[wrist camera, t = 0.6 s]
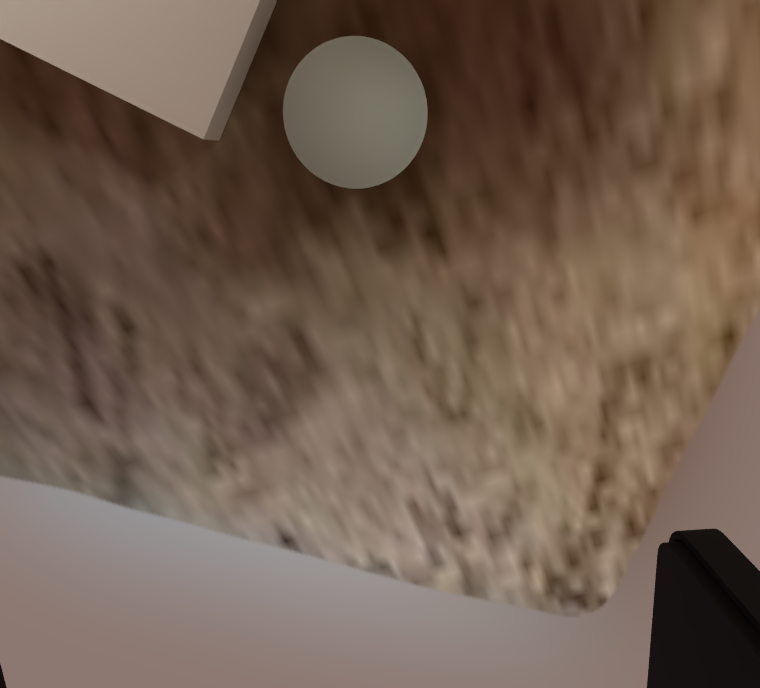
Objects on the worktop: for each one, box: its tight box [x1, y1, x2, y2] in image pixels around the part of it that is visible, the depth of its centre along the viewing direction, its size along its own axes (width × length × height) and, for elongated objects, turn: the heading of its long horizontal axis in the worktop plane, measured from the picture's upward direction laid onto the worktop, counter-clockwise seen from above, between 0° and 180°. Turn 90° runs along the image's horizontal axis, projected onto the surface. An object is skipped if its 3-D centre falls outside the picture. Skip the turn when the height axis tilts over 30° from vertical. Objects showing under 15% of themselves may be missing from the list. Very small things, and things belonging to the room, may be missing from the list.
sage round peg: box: [283, 36, 428, 189], centre depth 31 cm, size 6×6×8 cm
